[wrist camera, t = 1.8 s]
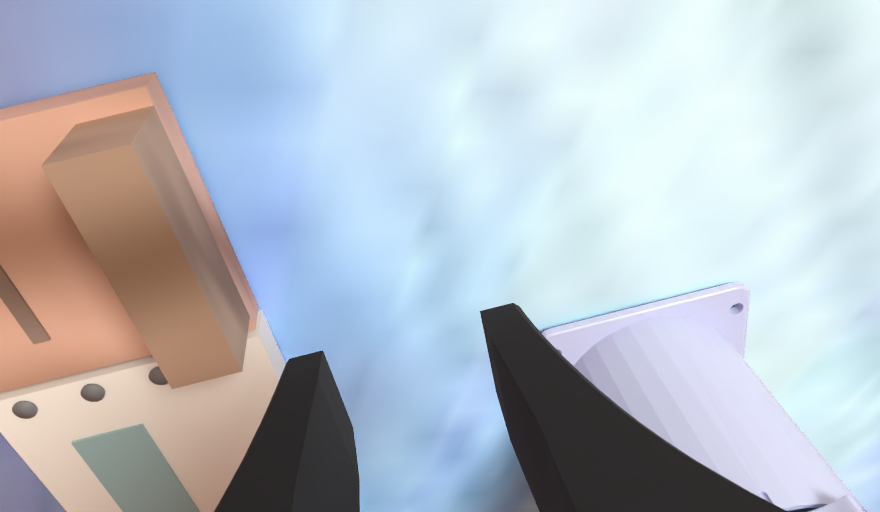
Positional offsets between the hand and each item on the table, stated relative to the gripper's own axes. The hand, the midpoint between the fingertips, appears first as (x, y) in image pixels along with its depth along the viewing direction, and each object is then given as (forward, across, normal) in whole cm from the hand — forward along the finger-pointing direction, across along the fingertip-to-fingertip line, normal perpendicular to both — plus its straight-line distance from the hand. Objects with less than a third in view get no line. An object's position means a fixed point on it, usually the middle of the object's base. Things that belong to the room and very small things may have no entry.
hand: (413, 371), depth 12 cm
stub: (+9, +10, 0) cm, 13 cm away
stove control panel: (+9, +10, +10) cm, 17 cm away
